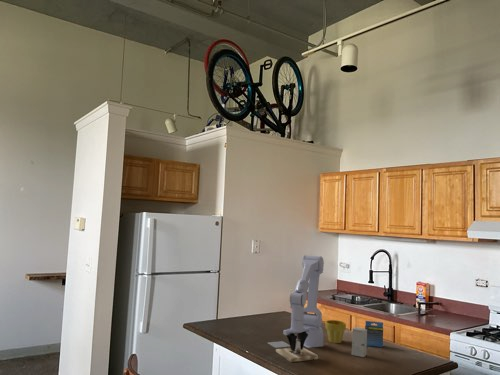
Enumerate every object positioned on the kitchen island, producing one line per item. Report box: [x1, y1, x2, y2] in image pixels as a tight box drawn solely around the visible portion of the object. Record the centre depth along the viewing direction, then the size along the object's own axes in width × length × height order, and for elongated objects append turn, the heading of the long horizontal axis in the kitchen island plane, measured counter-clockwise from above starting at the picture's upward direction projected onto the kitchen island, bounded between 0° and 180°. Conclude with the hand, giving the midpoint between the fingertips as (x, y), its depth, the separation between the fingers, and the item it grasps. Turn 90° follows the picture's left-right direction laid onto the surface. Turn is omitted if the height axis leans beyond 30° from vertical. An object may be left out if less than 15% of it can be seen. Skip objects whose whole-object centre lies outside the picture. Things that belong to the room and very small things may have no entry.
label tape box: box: [364, 320, 384, 348], centre depth 212 cm, size 9×4×12 cm, turn 74°
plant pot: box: [325, 319, 347, 344], centre depth 217 cm, size 10×10×10 cm
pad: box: [267, 340, 290, 349], centre depth 206 cm, size 9×9×1 cm
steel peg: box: [292, 338, 301, 355], centre depth 191 cm, size 4×4×6 cm
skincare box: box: [351, 326, 367, 358], centre depth 195 cm, size 6×4×12 cm
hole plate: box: [275, 347, 319, 363], centre depth 190 cm, size 14×14×2 cm
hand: (296, 349), depth 190 cm, fingers closed on steel peg, 4 cm apart
